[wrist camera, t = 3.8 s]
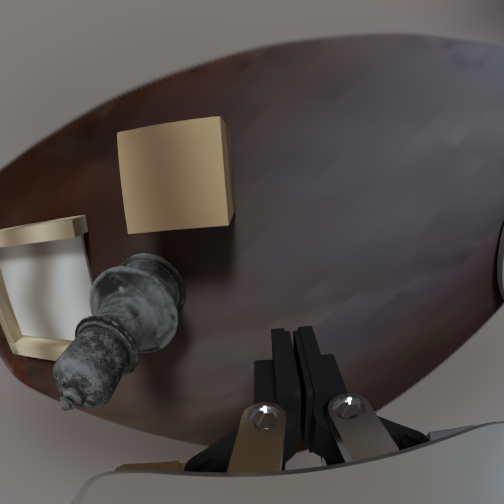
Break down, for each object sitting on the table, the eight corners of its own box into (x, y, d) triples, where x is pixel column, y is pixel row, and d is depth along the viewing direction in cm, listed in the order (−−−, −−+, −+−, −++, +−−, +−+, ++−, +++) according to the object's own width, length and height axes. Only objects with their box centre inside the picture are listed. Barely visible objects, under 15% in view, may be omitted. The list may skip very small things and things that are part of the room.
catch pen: (85, 214, 19) (72, 219, 17) (119, 354, 22) (111, 367, 20) (-12, 232, 19) (-25, 237, 17) (22, 344, 22) (13, 353, 20)
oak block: (229, 128, 17) (220, 116, 12) (235, 208, 19) (228, 225, 14) (150, 138, 17) (117, 132, 13) (158, 215, 19) (128, 233, 14)
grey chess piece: (173, 338, 21) (119, 471, 10) (104, 303, 21) (12, 408, 9) (203, 272, 20) (147, 404, 8) (125, 234, 19) (3, 317, 8)
